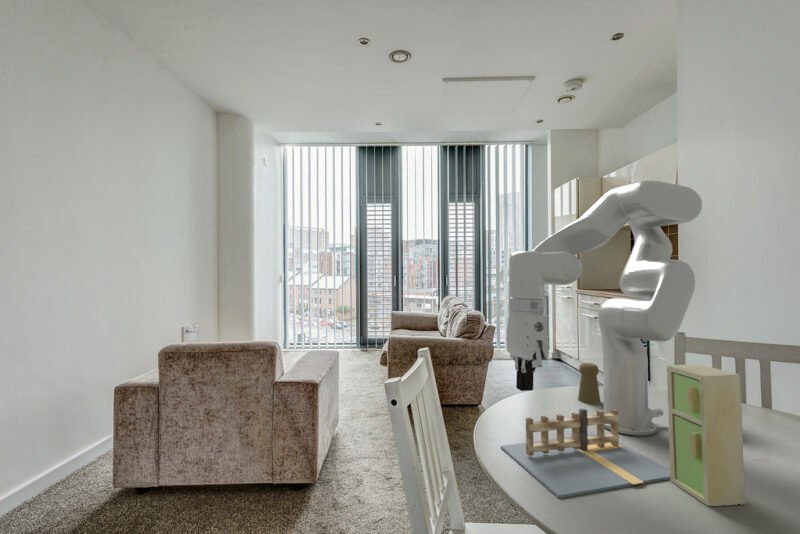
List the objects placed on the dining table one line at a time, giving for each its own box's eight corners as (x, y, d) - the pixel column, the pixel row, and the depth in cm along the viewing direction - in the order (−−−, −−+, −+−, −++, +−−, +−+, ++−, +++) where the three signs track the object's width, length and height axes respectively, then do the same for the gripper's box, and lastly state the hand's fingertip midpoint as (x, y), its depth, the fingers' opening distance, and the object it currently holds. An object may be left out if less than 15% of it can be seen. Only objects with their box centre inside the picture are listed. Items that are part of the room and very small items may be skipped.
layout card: (601, 435, 88) (601, 432, 88) (682, 478, 69) (682, 475, 69) (500, 448, 82) (500, 445, 82) (560, 500, 63) (560, 496, 63)
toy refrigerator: (664, 480, 69) (662, 364, 69) (702, 479, 69) (700, 363, 70) (703, 507, 61) (701, 376, 61) (745, 505, 61) (743, 375, 62)
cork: (603, 405, 109) (603, 366, 109) (581, 403, 110) (580, 365, 110) (597, 398, 114) (596, 361, 115) (575, 397, 116) (575, 360, 116)
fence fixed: (614, 445, 83) (613, 405, 83) (620, 448, 81) (619, 407, 81) (577, 450, 80) (577, 408, 81) (582, 454, 79) (582, 411, 79)
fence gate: (576, 446, 80) (576, 412, 80) (580, 449, 79) (580, 414, 79) (526, 453, 77) (525, 417, 77) (529, 456, 76) (529, 419, 76)
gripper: (562, 309, 78) (561, 399, 78) (522, 304, 93) (520, 380, 92) (530, 309, 76) (529, 401, 76) (494, 304, 91) (492, 381, 90)
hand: (524, 389), depth 84 cm, fingers closed
